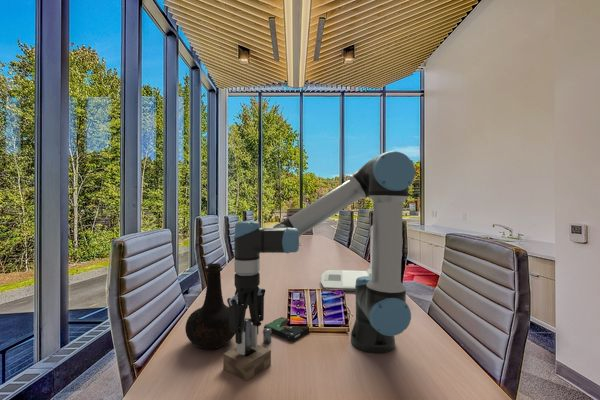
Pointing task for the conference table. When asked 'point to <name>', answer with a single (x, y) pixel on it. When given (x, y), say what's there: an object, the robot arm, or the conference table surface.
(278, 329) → the disk drive
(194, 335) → the glass bottle
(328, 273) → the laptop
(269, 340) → the short pin
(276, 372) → the conference table surface
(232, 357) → the socket block
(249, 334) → the long pin
